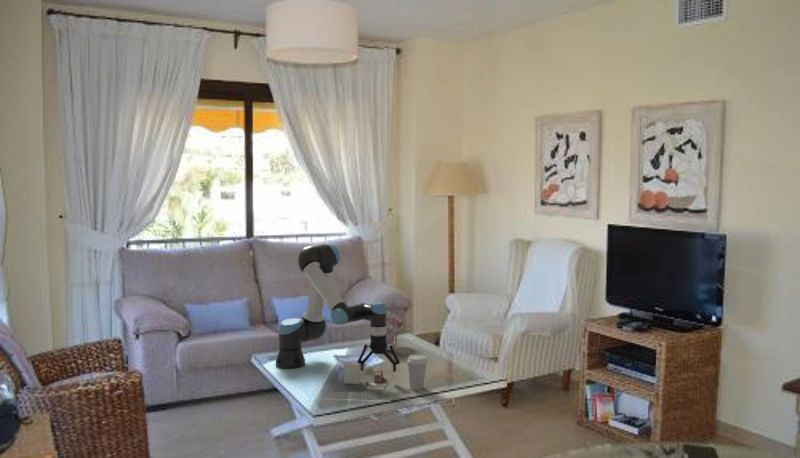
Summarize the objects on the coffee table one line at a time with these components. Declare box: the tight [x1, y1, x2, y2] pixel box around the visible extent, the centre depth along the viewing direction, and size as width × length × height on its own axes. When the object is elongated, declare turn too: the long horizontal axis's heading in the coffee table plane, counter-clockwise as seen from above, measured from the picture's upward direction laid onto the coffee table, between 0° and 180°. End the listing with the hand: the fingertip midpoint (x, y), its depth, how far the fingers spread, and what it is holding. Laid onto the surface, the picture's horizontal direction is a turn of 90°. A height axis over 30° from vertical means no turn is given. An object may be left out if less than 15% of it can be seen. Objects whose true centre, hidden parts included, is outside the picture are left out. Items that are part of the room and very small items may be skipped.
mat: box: [333, 381, 368, 393], centre depth 315 cm, size 13×14×1 cm
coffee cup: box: [406, 354, 428, 391], centre depth 315 cm, size 10×10×15 cm
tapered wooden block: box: [366, 367, 387, 391], centre depth 320 cm, size 18×8×5 cm, turn 175°
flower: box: [368, 309, 409, 353], centre depth 380 cm, size 20×22×25 cm
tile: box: [343, 363, 362, 384], centre depth 319 cm, size 2×8×9 cm, turn 85°
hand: (378, 377), depth 322 cm, fingers open, 13 cm apart
